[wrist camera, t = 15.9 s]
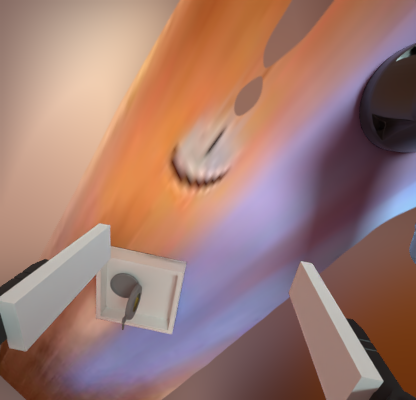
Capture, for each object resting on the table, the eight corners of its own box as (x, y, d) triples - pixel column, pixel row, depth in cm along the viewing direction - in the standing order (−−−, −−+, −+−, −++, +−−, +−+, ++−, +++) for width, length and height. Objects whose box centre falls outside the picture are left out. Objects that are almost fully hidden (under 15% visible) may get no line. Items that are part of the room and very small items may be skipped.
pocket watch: (106, 276, 46) (76, 314, 36) (138, 265, 44) (115, 303, 35) (125, 302, 48) (101, 345, 39) (155, 293, 46) (138, 335, 37)
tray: (186, 262, 44) (183, 273, 41) (175, 320, 50) (171, 334, 47) (105, 244, 44) (96, 254, 41) (104, 305, 50) (95, 318, 47)
